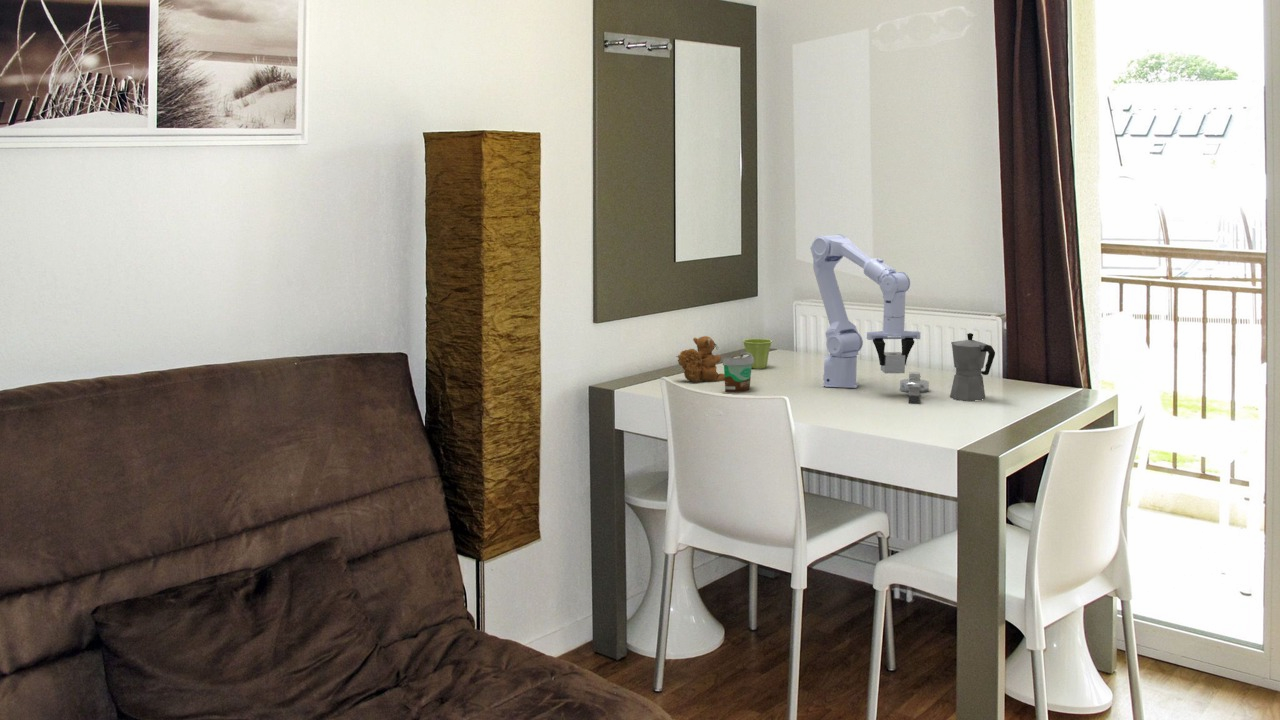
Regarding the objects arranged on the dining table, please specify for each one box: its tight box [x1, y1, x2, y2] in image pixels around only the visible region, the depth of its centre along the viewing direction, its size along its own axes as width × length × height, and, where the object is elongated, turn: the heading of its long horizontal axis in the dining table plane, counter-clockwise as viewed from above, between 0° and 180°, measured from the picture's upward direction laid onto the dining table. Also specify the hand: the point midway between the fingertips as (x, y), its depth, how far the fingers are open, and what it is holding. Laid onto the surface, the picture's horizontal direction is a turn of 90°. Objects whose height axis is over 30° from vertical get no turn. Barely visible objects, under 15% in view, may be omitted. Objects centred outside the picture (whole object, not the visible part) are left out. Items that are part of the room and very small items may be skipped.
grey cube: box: [880, 351, 906, 374], centre depth 301 cm, size 5×5×5 cm
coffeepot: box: [949, 332, 996, 402], centre depth 294 cm, size 15×9×18 cm, turn 29°
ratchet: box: [899, 371, 930, 405], centre depth 301 cm, size 8×22×5 cm, turn 166°
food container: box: [722, 351, 754, 393], centre depth 310 cm, size 12×6×10 cm, turn 148°
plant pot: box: [742, 338, 773, 370], centre depth 346 cm, size 9×9×9 cm
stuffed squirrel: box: [675, 335, 725, 384], centre depth 325 cm, size 10×14×13 cm
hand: (892, 364), depth 301 cm, fingers closed on grey cube, 5 cm apart
